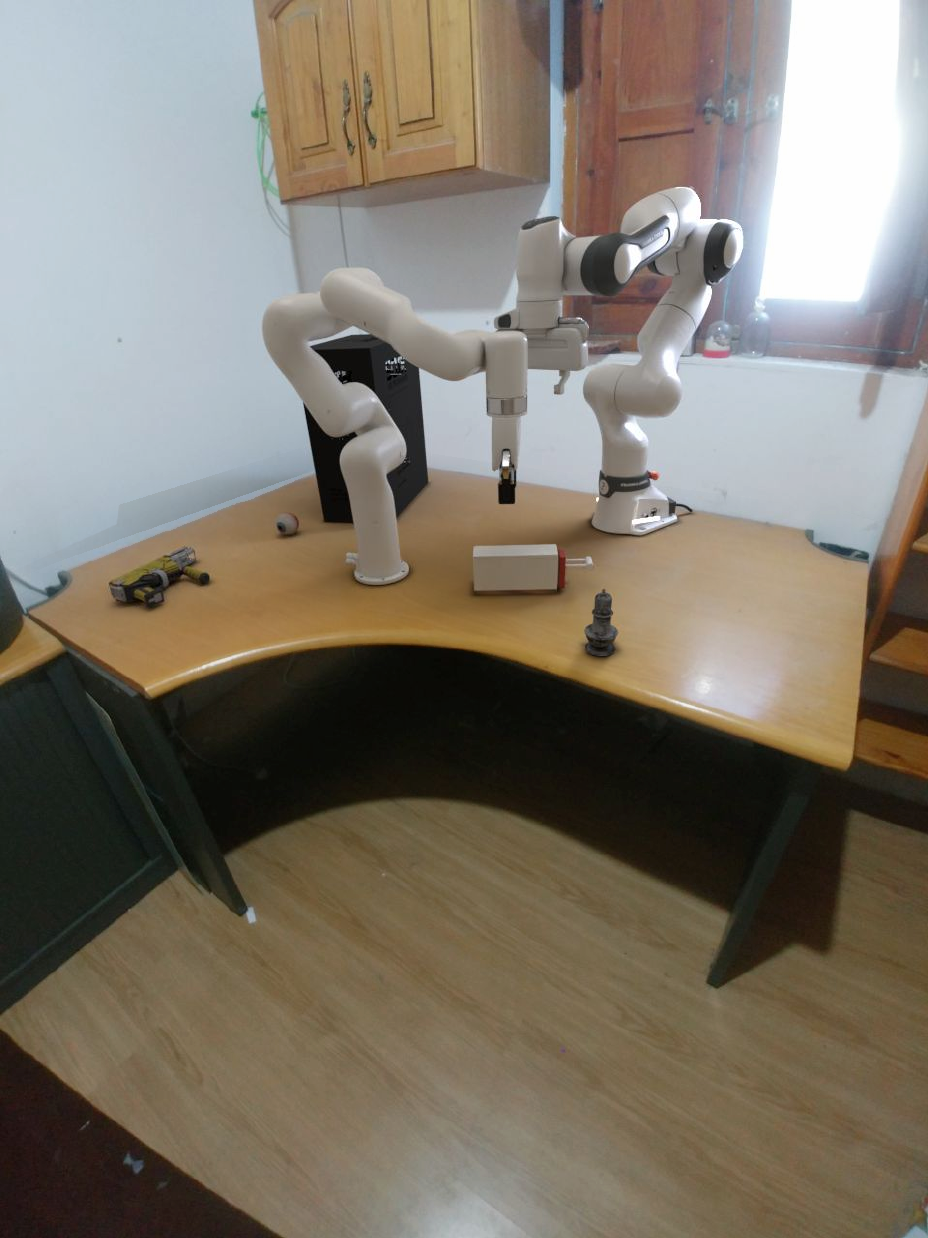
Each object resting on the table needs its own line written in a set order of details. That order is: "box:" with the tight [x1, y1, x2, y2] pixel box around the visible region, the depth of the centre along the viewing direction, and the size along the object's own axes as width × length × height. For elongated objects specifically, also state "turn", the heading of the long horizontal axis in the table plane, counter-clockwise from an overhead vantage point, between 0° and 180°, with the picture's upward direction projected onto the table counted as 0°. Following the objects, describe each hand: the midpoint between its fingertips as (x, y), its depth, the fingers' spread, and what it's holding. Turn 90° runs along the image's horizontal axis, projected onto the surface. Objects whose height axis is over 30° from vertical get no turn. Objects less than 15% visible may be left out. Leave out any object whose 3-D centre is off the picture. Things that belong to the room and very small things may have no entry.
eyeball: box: [275, 511, 300, 536], centre depth 163 cm, size 6×6×6 cm
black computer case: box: [302, 333, 429, 523], centre depth 175 cm, size 38×20×45 cm, turn 167°
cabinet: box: [472, 543, 558, 596], centre depth 128 cm, size 18×6×9 cm, turn 87°
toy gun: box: [108, 545, 211, 609], centre depth 140 cm, size 5×24×15 cm
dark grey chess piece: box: [583, 588, 619, 657], centre depth 105 cm, size 6×6×12 cm
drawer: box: [557, 548, 595, 589], centre depth 128 cm, size 22×4×7 cm, turn 87°
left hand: (507, 495), depth 120 cm, fingers open, 9 cm apart
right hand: (538, 392), depth 123 cm, fingers open, 8 cm apart
